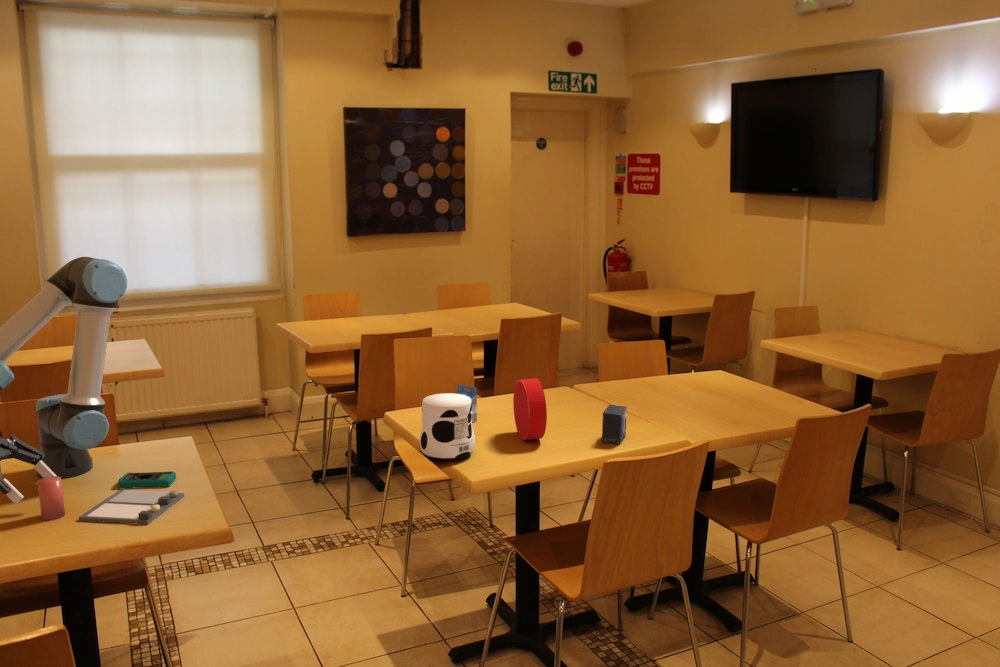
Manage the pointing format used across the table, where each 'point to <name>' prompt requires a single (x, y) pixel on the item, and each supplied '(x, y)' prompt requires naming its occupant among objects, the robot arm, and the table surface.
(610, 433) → the small box
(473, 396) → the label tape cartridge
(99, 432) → the robot arm
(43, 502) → the pink domed cylinder
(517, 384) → the upright red puck
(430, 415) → the milk container
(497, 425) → the table surface
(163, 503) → the board
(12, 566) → the table surface
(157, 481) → the digital multimeter
